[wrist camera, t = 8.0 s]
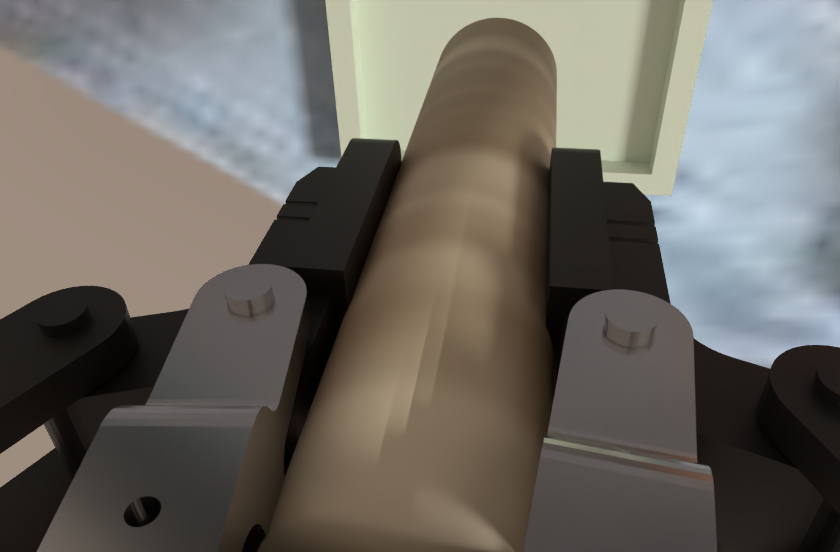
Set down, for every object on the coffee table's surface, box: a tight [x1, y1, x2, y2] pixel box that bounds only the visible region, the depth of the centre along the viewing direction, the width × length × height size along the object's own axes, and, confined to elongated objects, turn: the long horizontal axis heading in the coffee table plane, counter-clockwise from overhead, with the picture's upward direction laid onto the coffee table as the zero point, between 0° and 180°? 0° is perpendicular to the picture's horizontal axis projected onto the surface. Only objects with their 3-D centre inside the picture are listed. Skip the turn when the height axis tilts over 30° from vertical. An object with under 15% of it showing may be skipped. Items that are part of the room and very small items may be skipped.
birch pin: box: [258, 18, 557, 552], centre depth 11 cm, size 3×3×12 cm
